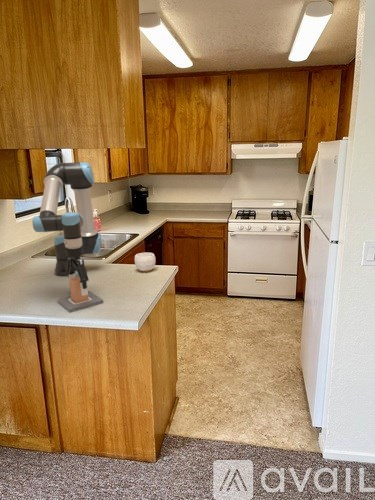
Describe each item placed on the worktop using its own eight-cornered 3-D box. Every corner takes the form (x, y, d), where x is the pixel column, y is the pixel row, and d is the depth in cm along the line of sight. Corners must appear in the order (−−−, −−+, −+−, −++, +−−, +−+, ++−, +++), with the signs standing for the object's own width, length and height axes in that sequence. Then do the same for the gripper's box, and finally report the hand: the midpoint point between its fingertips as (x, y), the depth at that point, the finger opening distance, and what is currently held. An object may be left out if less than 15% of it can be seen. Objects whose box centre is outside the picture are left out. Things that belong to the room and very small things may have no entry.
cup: (156, 267, 219) (155, 251, 216) (155, 273, 207) (154, 257, 205) (136, 267, 219) (135, 252, 216) (134, 274, 207) (133, 258, 204)
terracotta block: (71, 299, 168) (68, 279, 165) (83, 296, 171) (81, 276, 169) (76, 303, 163) (73, 282, 161) (88, 299, 167) (86, 279, 164)
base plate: (57, 302, 169) (57, 299, 169) (89, 293, 179) (89, 290, 178) (69, 312, 157) (69, 309, 156) (103, 302, 166) (103, 299, 166)
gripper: (56, 243, 168) (61, 286, 174) (76, 253, 149) (81, 300, 154) (71, 241, 173) (76, 282, 178) (93, 250, 154) (97, 296, 159)
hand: (79, 291), depth 166 cm, fingers open, 13 cm apart
